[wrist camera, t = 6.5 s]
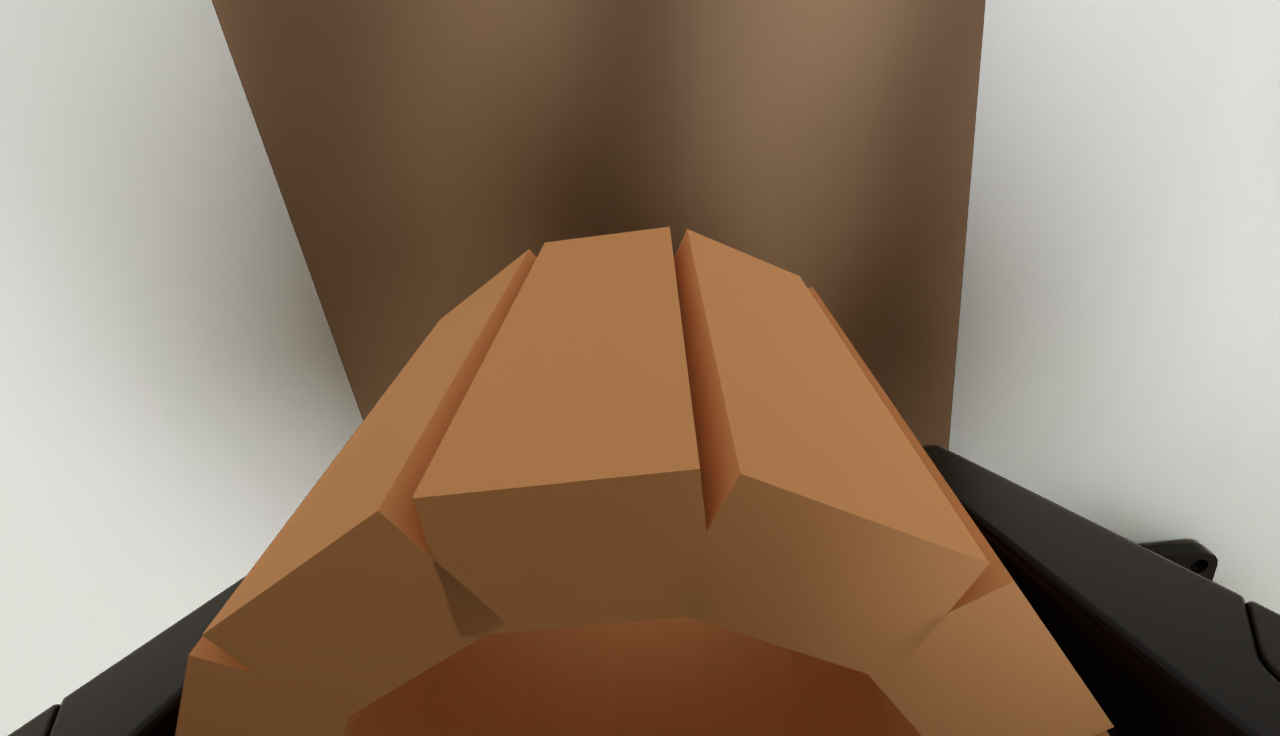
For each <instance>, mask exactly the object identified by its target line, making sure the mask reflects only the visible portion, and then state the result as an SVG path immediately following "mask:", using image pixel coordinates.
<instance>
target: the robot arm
mask: <svg viewBox="0 0 1280 736" xmlns="http://www.w3.org/2000/svg"><path fill="white" fill-rule="evenodd" d="M922 447H923V449H924V450H925V452H926V453H927V454H928V456H929V457H930V459H931V460H932V462H933V463H934V465H935V466H936V468H937V469H938V470H939V472H940V473H941V475H942V476H943V478H944V479H945V481H946V482H947V484H948V485H949V487H950V488H951V489H952V491H953V492H954V494H955V495H956V497H957V498H958V500H959V501H960V503H961V504H962V506H963V507H964V508H965V510H966V511H967V513H968V514H969V516H970V517H971V519H972V520H973V522H974V523H975V524H976V526H977V527H978V529H979V530H980V532H981V533H982V535H983V536H984V538H985V539H986V541H987V542H988V543H989V545H990V546H991V548H992V549H993V551H994V552H995V554H996V555H997V557H998V558H999V559H1000V561H1001V562H1002V564H1003V565H1004V567H1005V568H1006V570H1007V571H1008V573H1009V574H1010V576H1011V577H1012V578H1013V580H1014V581H1015V583H1016V584H1017V586H1018V587H1019V589H1020V590H1021V592H1022V593H1023V594H1024V596H1025V597H1026V599H1027V600H1028V602H1029V603H1030V605H1031V606H1032V608H1033V609H1034V611H1035V612H1036V613H1037V615H1038V616H1039V618H1040V619H1041V621H1042V622H1043V624H1044V625H1045V627H1046V628H1047V629H1048V631H1049V632H1050V634H1051V635H1052V637H1053V638H1054V640H1055V641H1056V643H1057V644H1058V646H1059V647H1060V648H1061V650H1062V651H1063V653H1064V654H1065V656H1066V657H1067V659H1068V660H1069V662H1070V663H1071V664H1072V666H1073V667H1074V669H1075V670H1076V672H1077V673H1078V675H1079V676H1080V678H1081V679H1082V681H1083V682H1084V683H1085V685H1086V686H1087V688H1088V689H1089V691H1090V692H1091V694H1092V695H1093V697H1094V698H1095V699H1096V701H1097V702H1098V704H1099V705H1100V707H1101V708H1102V710H1103V711H1104V713H1105V714H1106V716H1107V717H1108V718H1109V720H1110V721H1111V723H1112V724H1113V726H1114V727H1113V728H1111V729H1108V730H1106V731H1107V732H1108V734H1109V735H1110V736H1280V615H1279V614H1277V613H1275V612H1273V611H1271V610H1269V609H1267V608H1265V607H1263V606H1261V605H1259V604H1257V603H1255V602H1252V601H1250V602H1247V603H1246V604H1245V600H1244V598H1243V597H1242V596H1240V595H1239V594H1237V593H1235V592H1233V591H1231V590H1229V589H1227V588H1225V587H1223V586H1221V585H1219V584H1217V583H1215V582H1212V580H1213V577H1214V574H1215V571H1216V567H1217V562H1218V559H1217V558H1216V556H1215V555H1214V554H1213V553H1212V552H1210V551H1209V550H1208V549H1207V548H1206V547H1205V546H1203V545H1201V544H1196V543H1190V544H1180V545H1169V546H1158V547H1148V548H1144V547H1142V546H1140V545H1138V544H1136V543H1134V542H1132V541H1130V540H1128V539H1126V538H1124V537H1122V536H1120V535H1118V534H1116V533H1114V532H1112V531H1110V530H1108V529H1106V528H1104V527H1102V526H1100V525H1098V524H1096V523H1094V522H1092V521H1090V520H1088V519H1086V518H1084V517H1082V516H1080V515H1078V514H1076V513H1074V512H1072V511H1070V510H1068V509H1066V508H1064V507H1062V506H1060V505H1058V504H1056V503H1054V502H1052V501H1049V500H1047V499H1045V498H1043V497H1041V496H1039V495H1037V494H1035V493H1033V492H1031V491H1029V490H1027V489H1025V488H1023V487H1021V486H1019V485H1017V484H1015V483H1013V482H1011V481H1009V480H1007V479H1005V478H1003V477H1001V476H999V475H997V474H995V473H993V472H991V471H989V470H987V469H985V468H983V467H981V466H979V465H977V464H975V463H973V462H971V461H969V460H967V459H965V458H963V457H961V456H959V455H957V454H955V453H953V452H951V451H949V450H947V449H945V448H943V447H941V446H938V445H925V446H922ZM245 577H246V576H245ZM245 577H244V578H245ZM244 578H242V579H241V580H239V581H238V582H236V583H235V584H233V585H232V586H230V587H229V588H227V589H226V590H224V591H223V592H221V593H220V594H218V595H217V596H215V597H214V598H212V599H211V600H209V601H208V602H206V603H205V604H204V605H202V606H201V607H199V608H198V609H196V610H195V611H193V612H192V613H190V614H189V615H187V616H186V617H184V618H183V619H181V620H180V621H178V622H177V623H175V624H174V625H172V626H171V627H169V628H168V629H166V630H165V631H163V632H162V633H160V634H159V635H157V636H156V637H154V638H153V639H151V640H150V641H149V642H147V643H146V644H144V645H143V646H141V647H140V648H138V649H137V650H135V651H134V652H132V653H131V654H129V655H128V656H126V657H125V658H123V659H122V660H120V661H119V662H117V663H116V664H114V665H113V666H111V667H110V668H108V669H107V670H105V671H104V672H102V673H101V674H99V675H98V676H96V677H95V678H93V679H92V680H91V681H89V682H88V683H86V684H85V685H83V686H82V687H80V688H79V689H77V690H76V691H74V692H73V693H71V694H70V695H68V696H67V697H65V698H64V699H63V701H62V703H61V705H59V704H56V705H53V706H51V707H50V708H48V709H47V710H46V711H44V712H43V713H41V714H40V715H38V716H37V717H35V718H34V719H32V720H31V721H29V722H28V723H26V724H25V725H23V726H22V727H20V728H19V729H17V730H16V731H14V732H13V733H11V734H10V735H8V736H175V733H176V727H177V721H178V715H179V709H180V703H181V697H182V691H183V685H184V679H185V673H186V667H187V661H188V655H189V654H190V652H191V651H192V650H193V648H194V647H195V646H196V644H197V643H198V642H199V640H200V639H201V638H202V634H203V633H204V631H205V630H206V629H207V627H208V626H209V625H210V624H211V622H212V621H213V620H214V618H215V617H216V616H217V614H218V613H219V612H220V610H221V609H222V608H223V606H224V605H225V604H226V602H227V601H228V600H229V598H230V597H231V596H232V594H233V593H234V592H235V590H236V589H237V588H238V586H239V585H240V584H241V582H242V581H243V580H244Z"/></svg>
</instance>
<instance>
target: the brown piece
mask: <svg viewBox="0 0 1280 736" xmlns="http://www.w3.org/2000/svg"><path fill="white" fill-rule="evenodd" d="M212 2H213V5H214V8H215V11H216V14H217V16H218V19H219V22H220V25H221V27H222V30H223V33H224V36H225V39H226V41H227V44H228V47H229V50H230V52H231V55H232V58H233V61H234V63H235V66H236V69H237V72H238V75H239V77H240V80H241V83H242V86H243V88H244V91H245V94H246V97H247V100H248V102H249V105H250V108H251V111H252V113H253V116H254V119H255V122H256V124H257V127H258V130H259V133H260V136H261V138H262V141H263V144H264V147H265V149H266V152H267V155H268V158H269V161H270V163H271V166H272V169H273V172H274V174H275V177H276V180H277V183H278V185H279V188H280V191H281V194H282V197H283V199H284V202H285V205H286V208H287V210H288V213H289V216H290V219H291V222H292V224H293V227H294V230H295V233H296V235H297V238H298V241H299V244H300V246H301V249H302V252H303V255H304V258H305V260H306V263H307V266H308V269H309V271H310V274H311V277H312V280H313V283H314V285H315V288H316V291H317V294H318V296H319V299H320V302H321V305H322V307H323V310H324V313H325V316H326V319H327V321H328V324H329V327H330V330H331V332H332V335H333V338H334V341H335V344H336V346H337V349H338V352H339V355H340V357H341V360H342V363H343V366H344V368H345V371H346V374H347V377H348V380H349V382H350V385H351V388H352V391H353V393H354V396H355V399H356V402H357V405H358V407H359V410H360V413H361V416H362V418H363V421H364V420H365V418H366V417H367V416H368V414H369V413H370V412H371V410H372V409H373V408H374V406H375V405H376V404H377V402H378V401H379V400H380V398H381V397H382V396H383V394H384V393H385V392H386V391H387V389H388V388H389V387H390V385H391V384H392V383H393V381H394V380H395V379H396V377H397V376H398V375H399V373H400V372H401V371H402V369H403V368H404V367H405V365H406V364H407V363H408V361H409V360H410V359H411V357H412V356H413V355H414V353H415V352H416V351H417V349H418V348H419V347H420V345H421V344H422V343H423V342H424V340H425V339H426V338H427V336H428V335H429V334H430V332H431V331H432V330H433V328H434V327H435V326H436V324H437V323H438V322H439V320H440V319H441V318H443V317H444V316H445V315H446V314H448V313H449V312H450V311H452V310H453V309H454V308H455V307H457V306H458V305H459V304H460V303H462V302H463V301H464V300H465V299H467V298H468V297H469V296H470V295H472V294H473V293H474V292H476V291H477V290H478V289H479V288H481V287H482V286H483V285H484V284H486V283H487V282H488V281H489V280H491V279H492V278H493V277H494V276H496V275H497V274H498V273H500V272H501V271H502V270H503V269H505V268H506V267H507V266H508V265H510V264H511V263H512V262H513V261H515V260H516V259H517V258H518V257H520V256H521V255H522V254H524V253H525V252H526V251H527V250H529V249H530V250H531V252H532V253H533V254H534V255H535V256H536V257H538V255H539V253H540V251H541V249H542V247H543V245H544V243H545V242H553V241H561V240H568V239H576V238H584V237H592V236H600V235H608V234H616V233H623V232H631V231H639V230H647V229H655V228H663V227H670V233H671V241H672V249H673V257H675V255H676V253H677V250H678V248H679V246H680V244H681V242H682V239H683V237H684V235H685V233H686V230H687V229H688V230H691V231H693V232H696V233H698V234H700V235H703V236H705V237H708V238H710V239H712V240H715V241H717V242H719V243H722V244H724V245H727V246H729V247H731V248H734V249H736V250H739V251H741V252H743V253H746V254H748V255H750V256H753V257H755V258H758V259H760V260H762V261H765V262H767V263H770V264H772V265H774V266H777V267H779V268H782V269H784V270H786V271H789V272H791V273H793V274H796V275H798V276H800V277H801V279H802V280H803V282H804V283H805V285H806V286H807V288H810V287H811V286H812V287H813V288H814V290H815V291H816V293H817V294H818V295H819V297H820V298H821V300H822V301H823V303H824V304H825V306H826V307H827V309H828V310H829V312H830V313H831V314H832V316H833V317H834V319H835V320H836V322H837V323H838V325H839V326H840V328H841V329H842V330H843V332H844V333H845V335H846V336H847V338H848V339H849V341H850V342H851V344H852V345H853V347H854V348H855V349H856V351H857V352H858V354H859V355H860V357H861V358H862V360H863V361H864V363H865V364H866V365H867V367H868V368H869V370H870V371H871V373H872V374H873V376H874V377H875V379H876V380H877V382H878V383H879V384H880V386H881V387H882V389H883V390H884V392H885V393H886V395H887V396H888V398H889V399H890V400H891V402H892V403H893V405H894V406H895V408H896V409H897V411H898V412H899V414H900V415H901V417H902V418H903V419H904V421H905V422H906V424H907V425H908V427H909V428H910V430H911V431H912V433H913V434H914V435H915V437H916V438H917V440H918V441H919V443H920V444H921V446H925V445H938V446H941V447H943V448H945V449H947V450H948V447H949V435H950V423H951V411H952V399H953V387H954V375H955V363H956V351H957V338H958V326H959V314H960V302H961V290H962V278H963V266H964V254H965V242H966V230H967V217H968V205H969V193H970V181H971V169H972V157H973V145H974V133H975V121H976V108H977V96H978V84H979V72H980V60H981V48H982V36H983V24H984V12H985V0H212Z"/></svg>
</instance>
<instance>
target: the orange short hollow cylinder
mask: <svg viewBox="0 0 1280 736" xmlns="http://www.w3.org/2000/svg"><path fill="white" fill-rule="evenodd" d="M1113 727H1114V726H1113V724H1112V723H1111V721H1110V720H1109V718H1108V717H1107V716H1106V714H1105V713H1104V711H1103V710H1102V708H1101V707H1100V705H1099V704H1098V702H1097V701H1096V699H1095V698H1094V697H1093V695H1092V694H1091V692H1090V691H1089V689H1088V688H1087V686H1086V685H1085V683H1084V682H1083V681H1082V679H1081V678H1080V676H1079V675H1078V673H1077V672H1076V670H1075V669H1074V667H1073V666H1072V664H1071V663H1070V662H1069V660H1068V659H1067V657H1066V656H1065V654H1064V653H1063V651H1062V650H1061V648H1060V647H1059V646H1058V644H1057V643H1056V641H1055V640H1054V638H1053V637H1052V635H1051V634H1050V632H1049V631H1048V629H1047V628H1046V627H1045V625H1044V624H1043V622H1042V621H1041V619H1040V618H1039V616H1038V615H1037V613H1036V612H1035V611H1034V609H1033V608H1032V606H1031V605H1030V603H1029V602H1028V600H1027V599H1026V597H1025V596H1024V594H1023V593H1022V592H1021V590H1020V589H1019V587H1018V586H1017V584H1016V583H1015V581H1014V580H1013V578H1012V577H1011V576H1010V574H1009V573H1008V571H1007V570H1006V568H1005V567H1004V565H1003V564H1002V562H1001V561H1000V559H999V558H998V557H997V555H996V554H995V552H994V551H993V549H992V548H991V546H990V545H989V543H988V542H987V541H986V539H985V538H984V536H983V535H982V533H981V532H980V530H979V529H978V527H977V526H976V524H975V523H974V522H973V520H972V519H971V517H970V516H969V514H968V513H967V511H966V510H965V508H964V507H963V506H962V504H961V503H960V501H959V500H958V498H957V497H956V495H955V494H954V492H953V491H952V489H951V488H950V487H949V485H948V484H947V482H946V481H945V479H944V478H943V476H942V475H941V473H940V472H939V470H938V469H937V468H936V466H935V465H934V463H933V462H932V460H931V459H930V457H929V456H928V454H927V453H926V452H925V450H924V449H923V447H922V446H921V444H920V443H919V441H918V440H917V438H916V437H915V435H914V434H913V433H912V431H911V430H910V428H909V427H908V425H907V424H906V422H905V421H904V419H903V418H902V417H901V415H900V414H899V412H898V411H897V409H896V408H895V406H894V405H893V403H892V402H891V400H890V399H889V398H888V396H887V395H886V393H885V392H884V390H883V389H882V387H881V386H880V384H879V383H878V382H877V380H876V379H875V377H874V376H873V374H872V373H871V371H870V370H869V368H868V367H867V365H866V364H865V363H864V361H863V360H862V358H861V357H860V355H859V354H858V352H857V351H856V349H855V348H854V347H853V345H852V344H851V342H850V341H849V339H848V338H847V336H846V335H845V333H844V332H843V330H842V329H841V328H840V326H839V325H838V323H837V322H836V320H835V319H834V317H833V316H832V314H831V313H830V312H829V310H828V309H827V307H826V306H825V304H824V303H823V301H822V300H821V298H820V297H819V295H818V294H817V293H816V291H815V290H814V288H813V287H812V286H811V287H810V288H807V286H806V285H805V283H804V282H803V280H802V279H801V277H800V276H798V275H796V274H793V273H791V272H789V271H786V270H784V269H782V268H779V267H777V266H774V265H772V264H770V263H767V262H765V261H762V260H760V259H758V258H755V257H753V256H750V255H748V254H746V253H743V252H741V251H739V250H736V249H734V248H731V247H729V246H727V245H724V244H722V243H719V242H717V241H715V240H712V239H710V238H708V237H705V236H703V235H700V234H698V233H696V232H693V231H691V230H688V229H687V230H686V233H685V235H684V237H683V239H682V242H681V244H680V246H679V248H678V250H677V253H676V255H675V257H673V249H672V241H671V233H670V227H663V228H655V229H647V230H639V231H631V232H623V233H616V234H608V235H600V236H592V237H584V238H576V239H568V240H561V241H553V242H545V243H544V245H543V247H542V249H541V251H540V253H539V255H538V257H536V256H535V255H534V254H533V253H532V252H531V250H530V249H529V250H527V251H526V252H525V253H524V254H522V255H521V256H520V257H518V258H517V259H516V260H515V261H513V262H512V263H511V264H510V265H508V266H507V267H506V268H505V269H503V270H502V271H501V272H500V273H498V274H497V275H496V276H494V277H493V278H492V279H491V280H489V281H488V282H487V283H486V284H484V285H483V286H482V287H481V288H479V289H478V290H477V291H476V292H474V293H473V294H472V295H470V296H469V297H468V298H467V299H465V300H464V301H463V302H462V303H460V304H459V305H458V306H457V307H455V308H454V309H453V310H452V311H450V312H449V313H448V314H446V315H445V316H444V317H443V318H441V319H440V320H439V322H438V323H437V324H436V326H435V327H434V328H433V330H432V331H431V332H430V334H429V335H428V336H427V338H426V339H425V340H424V342H423V343H422V344H421V345H420V347H419V348H418V349H417V351H416V352H415V353H414V355H413V356H412V357H411V359H410V360H409V361H408V363H407V364H406V365H405V367H404V368H403V369H402V371H401V372H400V373H399V375H398V376H397V377H396V379H395V380H394V381H393V383H392V384H391V385H390V387H389V388H388V389H387V391H386V392H385V393H384V394H383V396H382V397H381V398H380V400H379V401H378V402H377V404H376V405H375V406H374V408H373V409H372V410H371V412H370V413H369V414H368V416H367V417H366V418H365V420H364V421H363V422H362V424H361V425H360V426H359V428H358V429H357V430H356V432H355V433H354V434H353V436H352V437H351V438H350V439H349V441H348V442H347V443H346V445H345V446H344V447H343V449H342V450H341V451H340V453H339V454H338V455H337V457H336V458H335V459H334V461H333V462H332V463H331V465H330V466H329V467H328V469H327V470H326V471H325V473H324V474H323V475H322V477H321V478H320V479H319V481H318V482H317V483H316V485H315V486H314V487H313V488H312V490H311V491H310V492H309V494H308V495H307V496H306V498H305V499H304V500H303V502H302V503H301V504H300V506H299V507H298V508H297V510H296V511H295V512H294V514H293V515H292V516H291V518H290V519H289V520H288V522H287V523H286V524H285V526H284V527H283V528H282V530H281V531H280V532H279V533H278V535H277V536H276V537H275V539H274V540H273V541H272V543H271V544H270V545H269V547H268V548H267V549H266V551H265V552H264V553H263V555H262V556H261V557H260V559H259V560H258V561H257V563H256V564H255V565H254V567H253V568H252V569H251V571H250V572H249V573H248V575H247V576H246V577H245V578H244V580H243V581H242V582H241V584H240V585H239V586H238V588H237V589H236V590H235V592H234V593H233V594H232V596H231V597H230V598H229V600H228V601H227V602H226V604H225V605H224V606H223V608H222V609H221V610H220V612H219V613H218V614H217V616H216V617H215V618H214V620H213V621H212V622H211V624H210V625H209V626H208V627H207V629H206V630H205V631H204V633H203V634H202V638H201V639H200V640H199V642H198V643H197V644H196V646H195V647H194V648H193V650H192V651H191V652H190V654H189V655H188V661H187V667H186V673H185V679H184V685H183V691H182V697H181V703H180V709H179V715H178V721H177V727H176V733H175V736H1110V735H1109V734H1108V732H1107V731H1106V730H1108V729H1111V728H1113Z"/></svg>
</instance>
